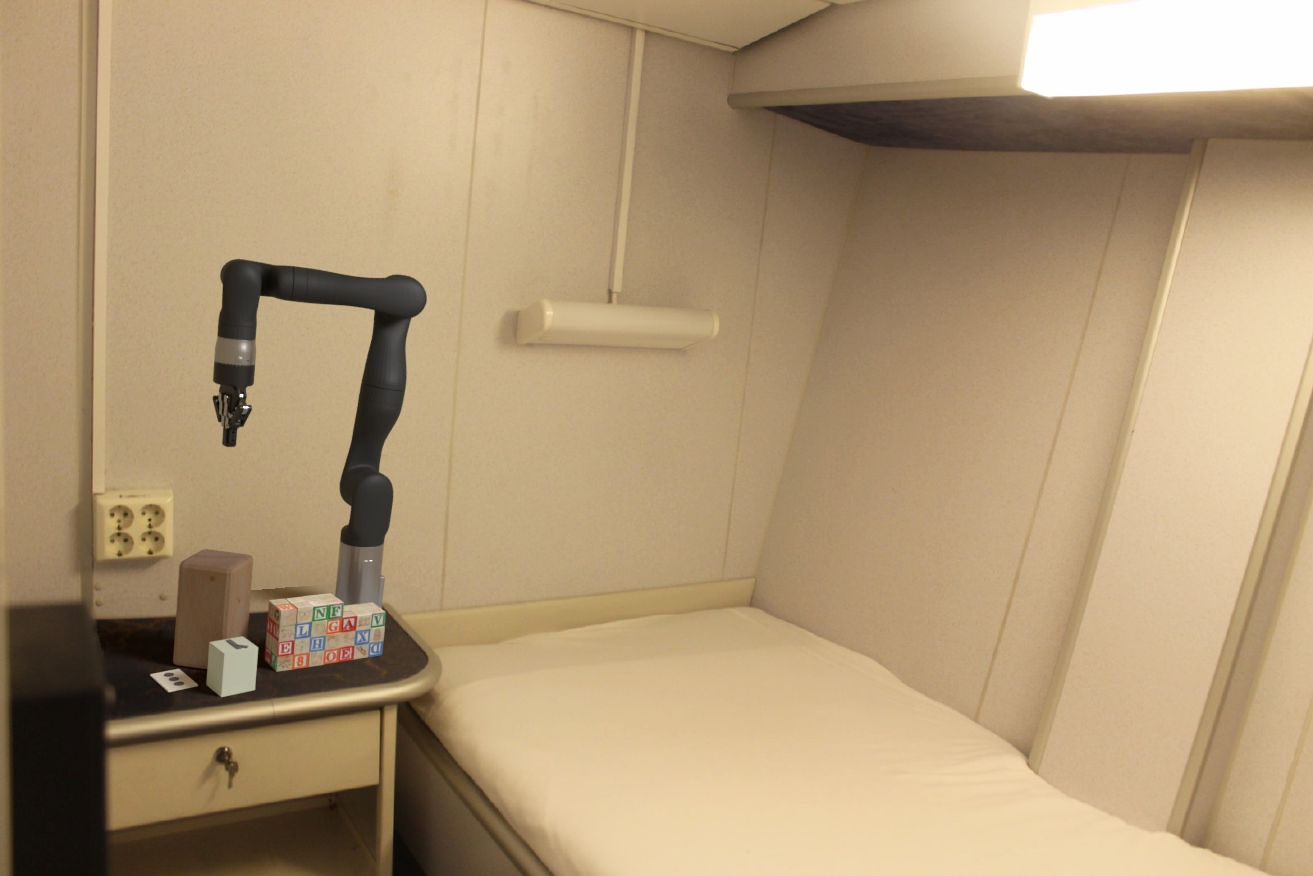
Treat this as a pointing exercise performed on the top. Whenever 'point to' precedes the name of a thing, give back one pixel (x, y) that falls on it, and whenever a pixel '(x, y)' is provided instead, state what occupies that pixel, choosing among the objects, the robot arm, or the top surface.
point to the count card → (173, 680)
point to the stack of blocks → (321, 631)
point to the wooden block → (211, 603)
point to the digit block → (232, 666)
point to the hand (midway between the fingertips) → (228, 446)
